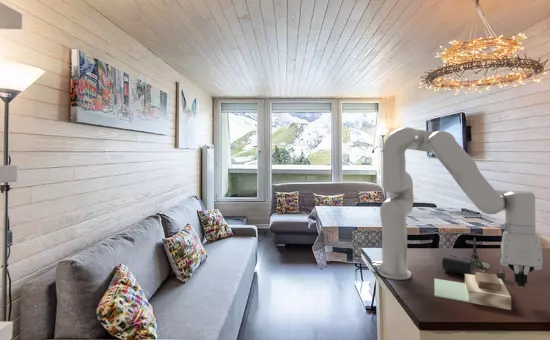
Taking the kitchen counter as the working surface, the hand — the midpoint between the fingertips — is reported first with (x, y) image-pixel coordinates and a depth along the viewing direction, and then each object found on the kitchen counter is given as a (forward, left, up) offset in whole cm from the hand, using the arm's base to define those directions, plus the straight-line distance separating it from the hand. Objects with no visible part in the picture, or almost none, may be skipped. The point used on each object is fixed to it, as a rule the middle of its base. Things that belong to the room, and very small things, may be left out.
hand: (520, 284), depth 97 cm
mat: (-20, 0, -6) cm, 20 cm away
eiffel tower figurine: (-9, +34, -6) cm, 36 cm away
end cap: (-16, +19, -6) cm, 26 cm away
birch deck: (-9, 0, -6) cm, 11 cm away
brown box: (-9, 0, -2) cm, 9 cm away
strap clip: (-2, +19, -6) cm, 20 cm away
